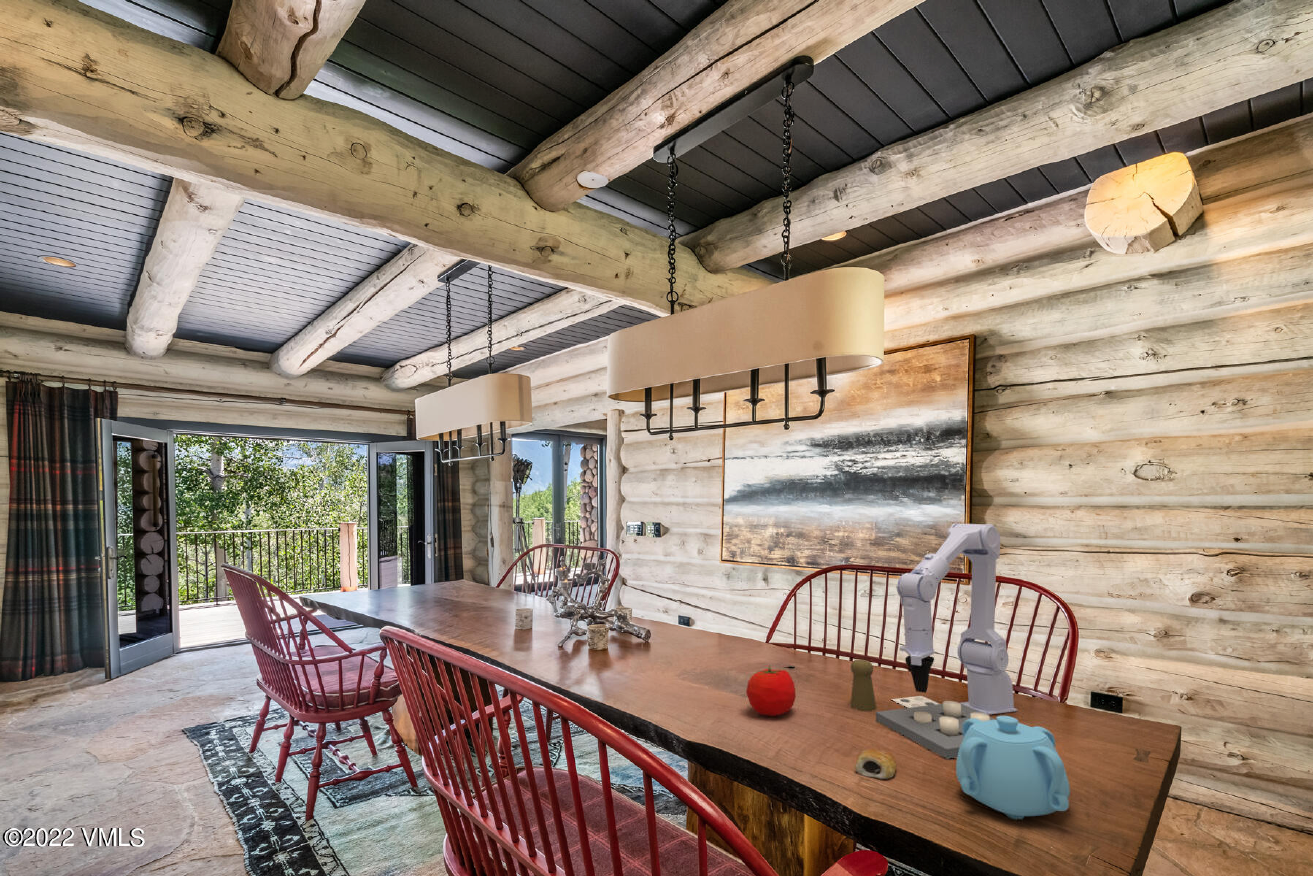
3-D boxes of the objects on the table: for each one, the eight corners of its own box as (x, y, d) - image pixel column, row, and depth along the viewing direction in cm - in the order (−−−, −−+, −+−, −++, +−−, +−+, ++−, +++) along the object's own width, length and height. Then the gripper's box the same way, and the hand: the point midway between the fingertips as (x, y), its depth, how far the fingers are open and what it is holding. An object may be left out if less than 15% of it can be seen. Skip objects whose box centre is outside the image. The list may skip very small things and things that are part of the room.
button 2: (980, 725, 132) (980, 711, 132) (994, 731, 128) (993, 717, 129) (967, 727, 131) (966, 713, 131) (980, 733, 127) (979, 719, 127)
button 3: (924, 724, 137) (923, 710, 137) (935, 729, 133) (935, 716, 134) (910, 726, 136) (910, 712, 136) (922, 731, 132) (921, 717, 133)
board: (955, 710, 146) (954, 702, 146) (1036, 746, 125) (1035, 735, 125) (876, 721, 139) (875, 711, 140) (947, 759, 118) (946, 749, 119)
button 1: (953, 713, 139) (952, 700, 140) (965, 718, 136) (964, 705, 136) (940, 715, 138) (939, 701, 139) (952, 720, 135) (951, 706, 135)
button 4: (950, 729, 129) (949, 715, 130) (963, 736, 126) (962, 721, 126) (936, 731, 128) (935, 717, 129) (948, 738, 125) (948, 723, 125)
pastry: (866, 757, 121) (866, 736, 121) (902, 765, 117) (902, 744, 117) (853, 775, 113) (852, 753, 113) (891, 784, 109) (890, 762, 109)
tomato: (808, 715, 144) (807, 670, 145) (767, 725, 137) (766, 678, 138) (776, 702, 153) (774, 660, 154) (736, 711, 147) (735, 667, 148)
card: (921, 697, 156) (921, 695, 156) (944, 707, 148) (944, 705, 148) (891, 700, 153) (891, 698, 153) (913, 711, 146) (913, 709, 146)
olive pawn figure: (878, 712, 145) (876, 664, 146) (851, 710, 146) (850, 663, 148) (874, 703, 151) (872, 657, 152) (849, 702, 152) (847, 656, 153)
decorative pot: (964, 773, 113) (960, 696, 114) (1069, 795, 104) (1063, 711, 105) (952, 811, 99) (946, 723, 101) (1071, 839, 90) (1063, 743, 92)
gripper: (903, 621, 145) (906, 680, 144) (894, 632, 132) (897, 698, 131) (935, 623, 142) (939, 684, 140) (930, 636, 129) (933, 702, 128)
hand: (921, 691), depth 135 cm, fingers closed
